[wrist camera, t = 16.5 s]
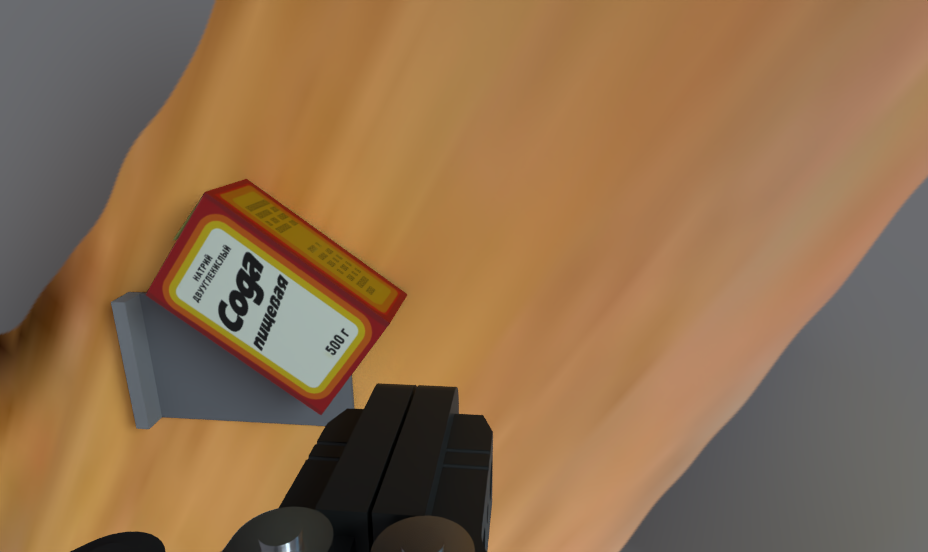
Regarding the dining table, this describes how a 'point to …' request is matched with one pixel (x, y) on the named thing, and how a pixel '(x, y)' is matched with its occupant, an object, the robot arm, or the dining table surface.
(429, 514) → the robot arm
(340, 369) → the baking soda box
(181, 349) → the bookend
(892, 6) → the dining table surface
